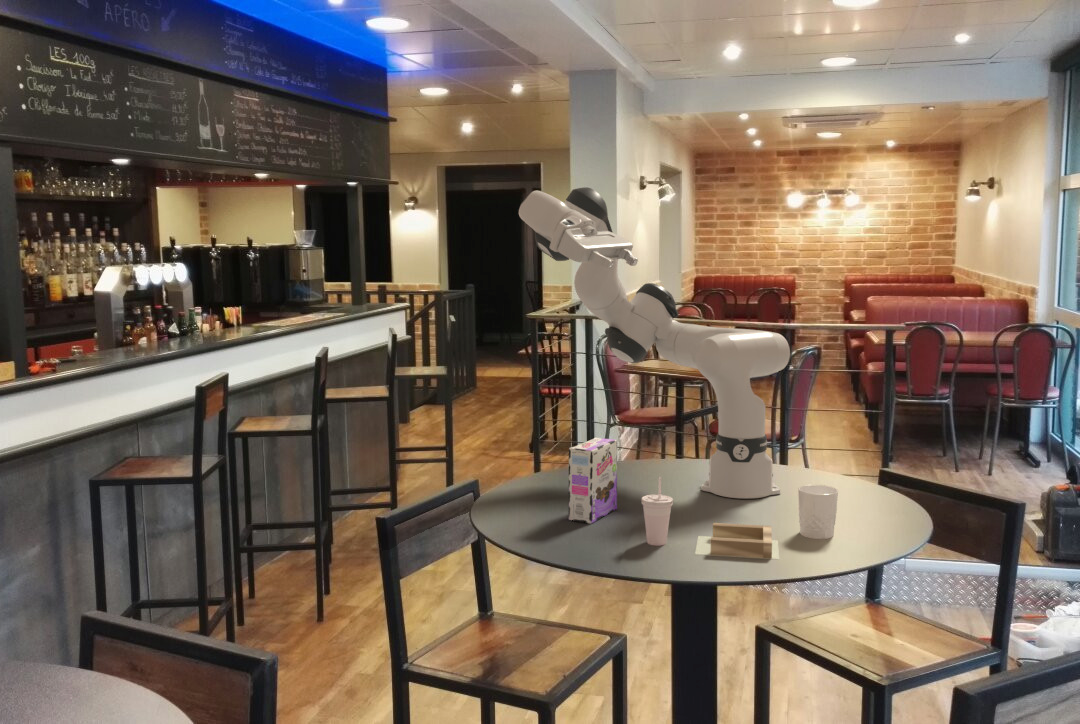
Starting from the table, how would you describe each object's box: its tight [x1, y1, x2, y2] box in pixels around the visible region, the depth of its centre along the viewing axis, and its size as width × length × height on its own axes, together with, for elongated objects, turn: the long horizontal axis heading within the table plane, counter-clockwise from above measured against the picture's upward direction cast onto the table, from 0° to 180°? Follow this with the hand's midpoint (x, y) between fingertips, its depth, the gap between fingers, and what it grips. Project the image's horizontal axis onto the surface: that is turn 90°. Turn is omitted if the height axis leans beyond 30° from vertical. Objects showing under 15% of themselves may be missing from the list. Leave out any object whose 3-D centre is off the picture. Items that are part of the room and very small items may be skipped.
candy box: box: [568, 437, 618, 524], centre depth 223 cm, size 14×6×16 cm, turn 151°
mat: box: [694, 535, 780, 560], centre depth 199 cm, size 12×16×1 cm
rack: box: [710, 522, 773, 559], centre depth 199 cm, size 12×12×3 cm
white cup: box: [798, 484, 839, 540], centre depth 207 cm, size 8×8×10 cm
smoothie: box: [640, 477, 674, 547], centre depth 202 cm, size 6×6×14 cm
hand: (623, 264), depth 216 cm, fingers open, 8 cm apart
